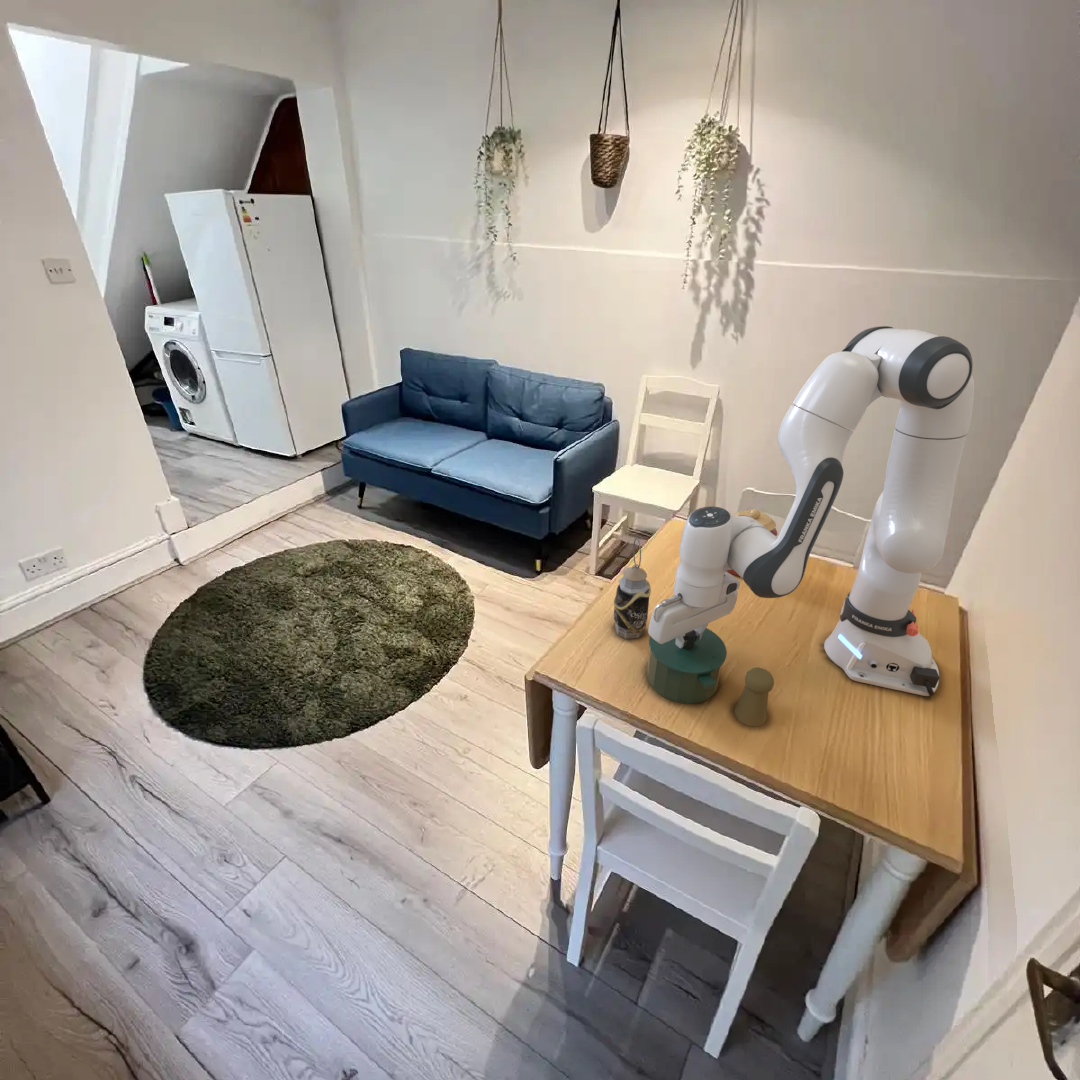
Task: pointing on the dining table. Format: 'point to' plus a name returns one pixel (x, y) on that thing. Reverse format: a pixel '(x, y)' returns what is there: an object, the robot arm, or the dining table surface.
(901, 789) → the dining table surface
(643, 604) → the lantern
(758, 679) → the tan game pawn
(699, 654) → the lid
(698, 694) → the pot
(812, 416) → the robot arm
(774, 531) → the kitchen canister
